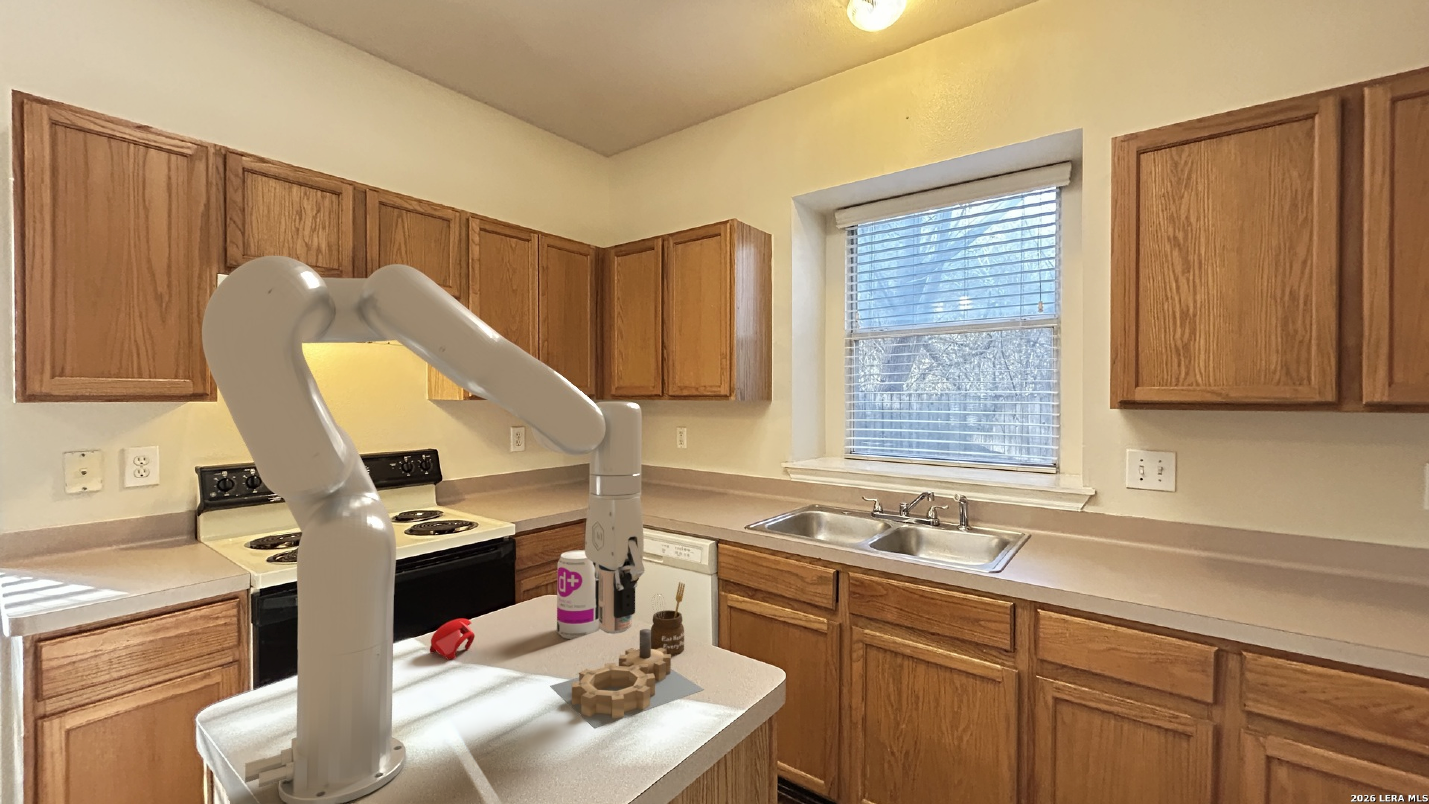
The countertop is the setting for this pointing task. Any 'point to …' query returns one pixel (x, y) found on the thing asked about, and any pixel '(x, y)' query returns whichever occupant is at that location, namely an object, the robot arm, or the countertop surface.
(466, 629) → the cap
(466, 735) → the countertop surface
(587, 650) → the countertop surface
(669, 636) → the utensil holder
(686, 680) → the gear board
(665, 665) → the small gear
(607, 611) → the beer can
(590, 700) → the oak gear
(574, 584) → the supplement can
